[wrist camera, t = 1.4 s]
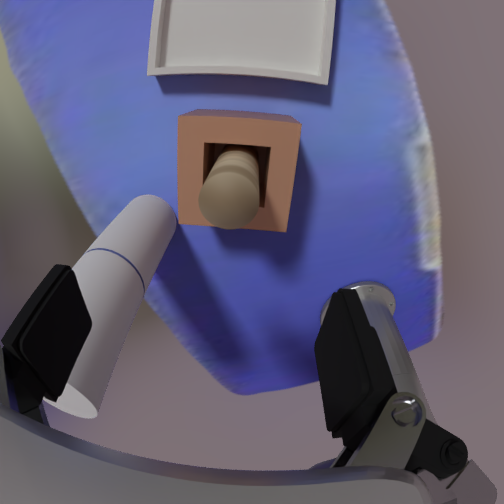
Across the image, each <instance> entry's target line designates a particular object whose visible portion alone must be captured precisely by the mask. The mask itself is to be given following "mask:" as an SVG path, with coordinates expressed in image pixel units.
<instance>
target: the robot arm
mask: <svg viewBox="0 0 504 504" xmlns="http://www.w3.org/2000/svg"><path fill="white" fill-rule="evenodd" d="M395 306H396V303H395V298H394V296H393V294H392V292H391V290H390V289H389V288H388V287H387V286H385V285H383V284H381V283H378V282H372V281H365V282H358V283H354V284H351V285H349V286H346V287H344V288H340V289H339V290H338V291H337V292H334V293H333V294H332V296H331V297H330V298H329V299H328V300H327V302H326V303H325V305H324V306H323V308H322V310H321V314H320V323H321V328H320V331H319V333H318V336H317V339H316V341H315V347H314V351H315V357H316V363H317V369H318V375H319V381H320V387H321V394H322V400H323V407H324V413H325V420H326V427H327V430H328V431H329V432H330V431H332V437H333V438H339V437H342V439H343V445H344V446H345V447H344V448H343V450H342V451H341V453H340V454H339V455H338V457H337V458H334V459H331V460H327V461H324V462H321V463H318V464H316V465H314V466H312V467H311V468H310V469H308V470H289V471H288V470H286V471H251V470H250V471H249V470H229V469H228V470H227V469H215V468H206V467H197V466H190V465H182V464H176V463H169V462H164V461H159V460H154V459H149V458H144V457H140V456H136V455H132V454H128V453H124V452H120V451H116V450H113V449H110V448H106V447H103V446H100V445H96V444H93V443H90V442H87V441H85V440H82V439H79V438H76V437H73V436H71V435H68V434H66V433H63V432H60V431H58V430H55V429H53V428H51V427H50V426H49V423H48V420H47V416H46V413H45V410H44V406H43V403H42V400H43V397H45V398H46V399H48V400H51V401H53V402H57V399H58V397H60V396H61V395H62V393H63V391H64V388H65V386H66V384H67V381H68V379H69V376H70V374H71V372H72V369H73V367H74V365H75V363H76V360H77V358H78V356H79V354H80V352H81V350H82V347H83V345H84V343H85V341H86V339H87V337H88V335H89V333H90V331H91V328H92V320H91V317H90V314H89V312H88V309H87V307H86V304H85V301H84V299H83V296H82V293H81V290H80V287H79V284H78V281H77V278H76V275H75V272H74V271H73V270H72V269H71V267H70V266H67V265H59V264H56V265H55V266H54V267H53V268H52V269H51V270H50V272H49V273H48V274H47V276H46V277H45V278H44V279H43V281H42V282H41V283H40V285H39V286H38V287H37V289H36V290H35V291H34V293H33V294H32V295H31V297H30V298H29V299H28V301H27V302H26V304H25V305H24V306H23V308H22V309H21V311H20V312H19V314H18V315H17V317H16V318H15V320H14V321H13V323H12V324H11V326H10V327H9V329H8V330H7V332H6V333H5V335H4V337H3V338H2V340H1V341H2V343H3V345H4V346H3V348H1V346H0V504H495V501H496V498H497V489H496V488H495V486H494V484H493V483H492V482H491V481H490V480H489V479H488V477H487V476H486V475H485V474H484V473H483V472H482V470H481V469H480V468H479V467H478V466H477V465H476V463H475V462H474V461H473V460H470V461H468V460H467V458H468V451H467V447H466V445H465V443H464V442H463V441H462V440H461V439H460V438H458V437H456V436H455V435H453V434H451V433H450V432H448V431H446V430H444V429H443V428H441V427H440V426H438V425H437V423H436V421H435V418H434V416H433V414H432V412H431V410H430V407H429V404H428V402H427V399H426V397H425V394H424V392H423V389H422V387H421V384H420V381H419V378H418V376H417V373H416V371H415V368H414V366H413V363H412V361H411V358H410V356H409V353H408V351H407V348H406V346H405V344H404V341H403V339H402V337H401V334H400V332H399V330H398V327H397V325H396V323H395V321H394V319H393V314H394V311H395Z"/></svg>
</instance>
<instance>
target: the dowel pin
mask: <svg viewBox="0 0 504 504" xmlns="http://www.w3.org/2000/svg"><path fill="white" fill-rule="evenodd" d="M198 202H199V208H200V211H201V213H202V215H203V216H204V218H205V219H206V220H207V221H208V222H210V223H211V224H212V225H214V226H216V227H219V228H222V229H237V228H241V227H243V226H245V225H247V224H248V223H250V222H251V221H252V220H253V219H254V217H255V216H256V214H257V212H258V209H259V156H258V151H257V149H256V147H255V146H254V145H242V144H226V145H225V147H224V148H223V150H222V152H221V153H220V155H219V157H218V159H217V161H216V162H215V164H214V166H213V168H212V170H211V172H210V173H209V175H208V177H207V179H206V181H205V183H204V185H203V186H202V188H201V190H200V193H199V199H198Z"/></svg>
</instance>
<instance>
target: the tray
mask: <svg viewBox="0 0 504 504" xmlns="http://www.w3.org/2000/svg"><path fill="white" fill-rule="evenodd" d="M335 5H336V0H154V7H153V15H152V23H151V32H150V43H149V55H148V69H147V76H165V75H195V74H209V75H239V76H254V77H266V78H275V79H284V80H292V81H299V82H305V83H312V84H317V85H328V79H329V70H330V61H331V51H332V41H333V30H334V18H335Z"/></svg>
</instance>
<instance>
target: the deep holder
mask: <svg viewBox="0 0 504 504" xmlns="http://www.w3.org/2000/svg"><path fill="white" fill-rule="evenodd" d="M301 126H302V124H301V123H300V122H298V121H297V120H296V119H294V118H293V117H292V116H289V115H280V114H271V113H261V112H249V111H234V110H211V109H197V110H194V111H191V112H188V113H185V114H182V115H179V116H178V150H177V173H178V217H179V224H188V225H202V226H214V225H212V224H211V223H210V222H208V221H207V220H206V219H205V218H204V216H203V215H202V213H201V211H200V208H199V202H198V199H199V193H200V190H201V188H202V186H203V185H204V183H205V181H206V179H207V177H208V175H209V173H210V172H211V170H212V168H213V166H214V164H215V162H216V161H217V159H218V157H219V155H220V153H221V152H222V150H223V148H224V147H225V145H226V144H242V145H254V146H255V147H256V149H257V151H258V156H259V209H258V212H257V214H256V216H255V217H254V219H253V220H252V221H251V222H250V223H248V224H247V225H245V226H243V227H241V228H242V229H254V230H266V231H278V232H286V230H287V223H288V217H289V211H290V204H291V198H292V191H293V184H294V177H295V170H296V163H297V156H298V149H299V141H300V134H301Z"/></svg>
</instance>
